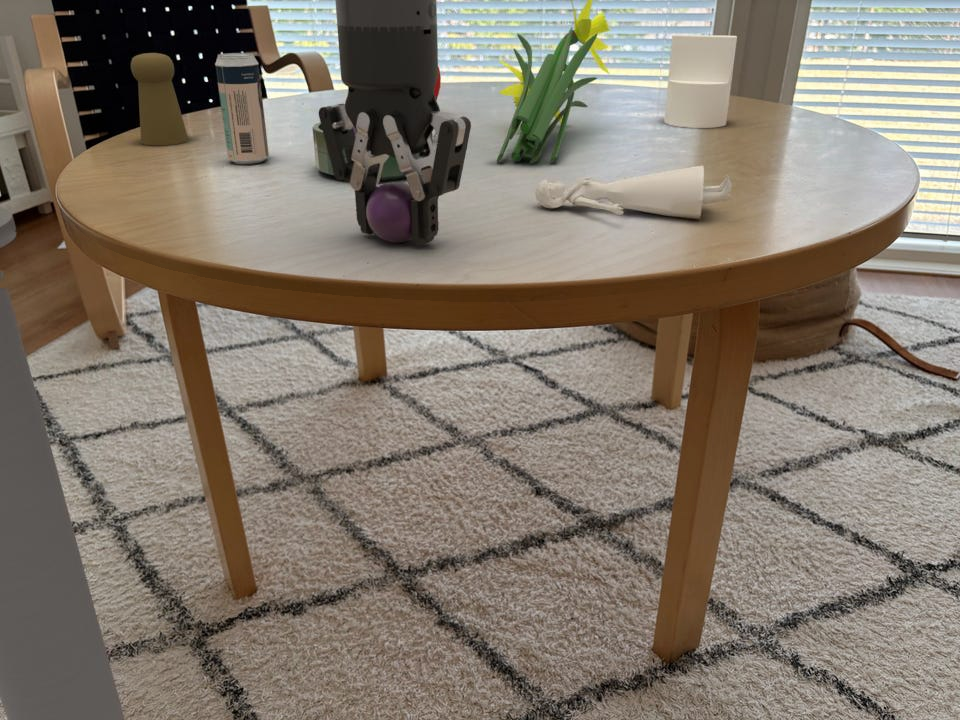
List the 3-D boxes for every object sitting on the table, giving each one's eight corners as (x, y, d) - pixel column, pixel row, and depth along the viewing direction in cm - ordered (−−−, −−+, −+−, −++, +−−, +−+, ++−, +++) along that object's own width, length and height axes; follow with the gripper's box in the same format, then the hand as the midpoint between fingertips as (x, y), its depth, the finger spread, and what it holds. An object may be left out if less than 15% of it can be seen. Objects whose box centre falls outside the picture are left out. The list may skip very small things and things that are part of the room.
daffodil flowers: (434, 166, 98) (499, 57, 124) (537, 229, 101) (579, 109, 126) (501, 49, 87) (557, -45, 112) (615, 124, 89) (644, 15, 115)
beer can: (277, 159, 98) (266, 53, 93) (248, 167, 94) (235, 57, 89) (249, 155, 100) (236, 51, 95) (219, 162, 97) (204, 55, 92)
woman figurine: (737, 180, 68) (525, 185, 72) (733, 232, 70) (527, 234, 74) (727, 152, 79) (542, 158, 82) (724, 198, 81) (543, 201, 84)
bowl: (330, 187, 86) (326, 139, 83) (307, 162, 97) (303, 119, 94) (448, 177, 90) (447, 130, 88) (414, 154, 101) (412, 112, 99)
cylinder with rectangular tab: (659, 125, 119) (667, 37, 113) (669, 116, 126) (677, 32, 121) (722, 129, 116) (734, 39, 110) (729, 119, 123) (739, 34, 118)
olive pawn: (197, 138, 111) (184, 51, 106) (170, 146, 105) (155, 56, 101) (159, 135, 112) (145, 50, 107) (131, 144, 107) (114, 55, 102)
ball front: (376, 253, 66) (372, 192, 64) (361, 236, 70) (357, 178, 68) (434, 246, 68) (433, 186, 65) (417, 230, 72) (415, 173, 70)
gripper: (282, 19, 62) (304, 234, 69) (434, 25, 55) (440, 264, 62) (348, 14, 68) (361, 214, 75) (493, 19, 61) (493, 239, 68)
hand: (397, 236), depth 69 cm, fingers closed on ball front, 5 cm apart
